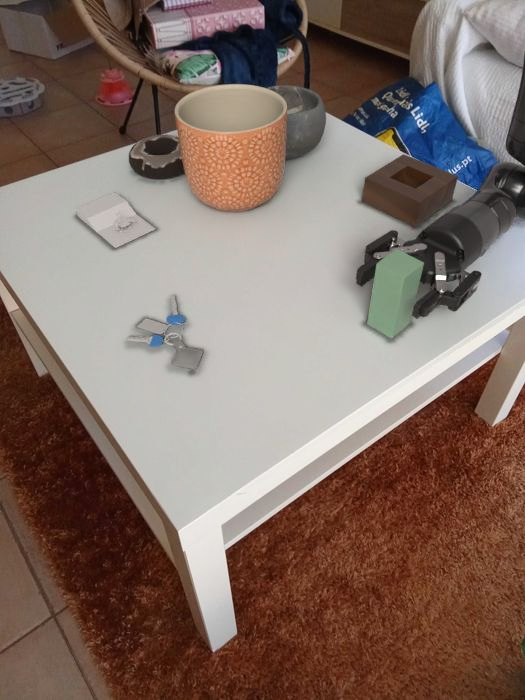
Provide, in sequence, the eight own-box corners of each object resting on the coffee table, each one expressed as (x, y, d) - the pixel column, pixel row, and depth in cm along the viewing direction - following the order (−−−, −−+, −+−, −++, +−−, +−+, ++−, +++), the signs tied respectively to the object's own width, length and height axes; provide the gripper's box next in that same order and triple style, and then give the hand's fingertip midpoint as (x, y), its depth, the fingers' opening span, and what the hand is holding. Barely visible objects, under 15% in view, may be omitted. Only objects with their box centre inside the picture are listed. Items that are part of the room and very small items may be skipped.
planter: (166, 209, 94) (152, 119, 82) (217, 162, 104) (210, 76, 93) (258, 234, 88) (255, 142, 77) (302, 182, 98) (305, 94, 87)
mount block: (399, 177, 99) (403, 153, 96) (452, 200, 94) (458, 175, 90) (361, 202, 94) (364, 177, 91) (415, 227, 89) (420, 202, 85)
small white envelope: (116, 198, 96) (113, 185, 94) (155, 229, 90) (153, 215, 88) (77, 215, 93) (73, 202, 91) (115, 248, 86) (111, 234, 85)
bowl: (238, 138, 110) (236, 85, 103) (313, 130, 112) (315, 78, 104) (251, 176, 100) (249, 121, 93) (332, 168, 102) (336, 113, 94)
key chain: (210, 365, 69) (209, 361, 69) (145, 387, 67) (144, 383, 66) (175, 297, 78) (174, 293, 77) (116, 314, 76) (115, 310, 75)
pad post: (385, 309, 76) (396, 248, 69) (409, 323, 74) (424, 262, 67) (366, 324, 74) (376, 263, 67) (391, 339, 72) (404, 278, 65)
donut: (145, 148, 108) (142, 128, 105) (203, 154, 106) (201, 134, 103) (120, 179, 100) (115, 158, 97) (182, 187, 98) (179, 165, 95)
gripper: (419, 194, 77) (343, 246, 70) (515, 237, 70) (443, 299, 62) (409, 240, 83) (338, 292, 75) (498, 283, 76) (429, 346, 68)
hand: (386, 295), depth 69 cm, fingers open, 8 cm apart
